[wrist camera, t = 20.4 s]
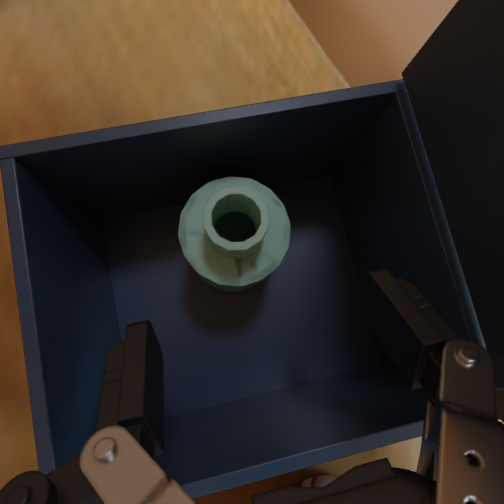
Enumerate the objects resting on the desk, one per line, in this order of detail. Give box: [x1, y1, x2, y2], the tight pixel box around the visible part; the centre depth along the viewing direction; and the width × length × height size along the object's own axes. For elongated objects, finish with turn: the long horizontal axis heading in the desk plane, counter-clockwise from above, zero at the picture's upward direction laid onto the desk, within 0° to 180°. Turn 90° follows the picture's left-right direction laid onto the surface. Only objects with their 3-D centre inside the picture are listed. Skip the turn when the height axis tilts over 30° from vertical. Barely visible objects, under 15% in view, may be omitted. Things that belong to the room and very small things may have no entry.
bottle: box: [178, 176, 291, 292], centre depth 21 cm, size 6×6×10 cm
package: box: [0, 79, 487, 499], centre depth 20 cm, size 18×15×11 cm
